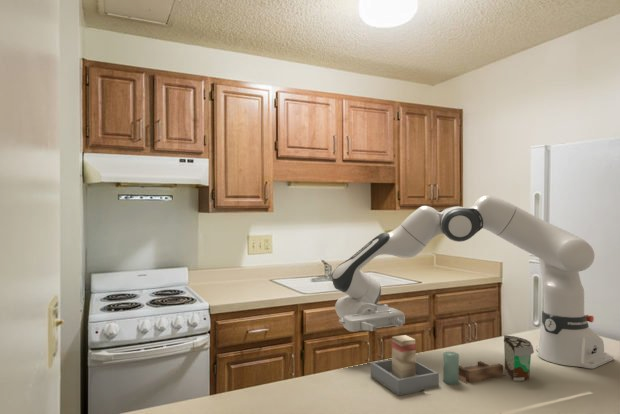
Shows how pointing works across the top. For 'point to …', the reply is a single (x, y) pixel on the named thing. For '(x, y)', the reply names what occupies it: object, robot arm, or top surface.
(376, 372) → the grey tray
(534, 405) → the top surface
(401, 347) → the birch block
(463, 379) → the walnut rack
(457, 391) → the top surface
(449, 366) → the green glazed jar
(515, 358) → the food container
